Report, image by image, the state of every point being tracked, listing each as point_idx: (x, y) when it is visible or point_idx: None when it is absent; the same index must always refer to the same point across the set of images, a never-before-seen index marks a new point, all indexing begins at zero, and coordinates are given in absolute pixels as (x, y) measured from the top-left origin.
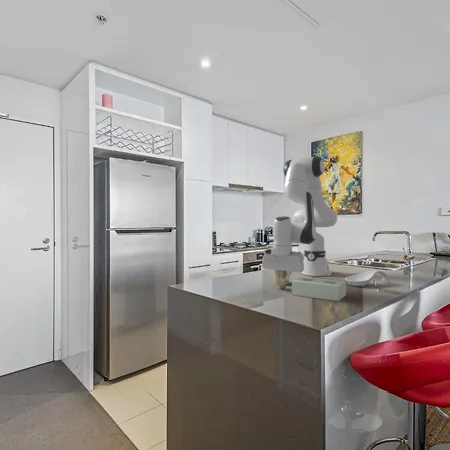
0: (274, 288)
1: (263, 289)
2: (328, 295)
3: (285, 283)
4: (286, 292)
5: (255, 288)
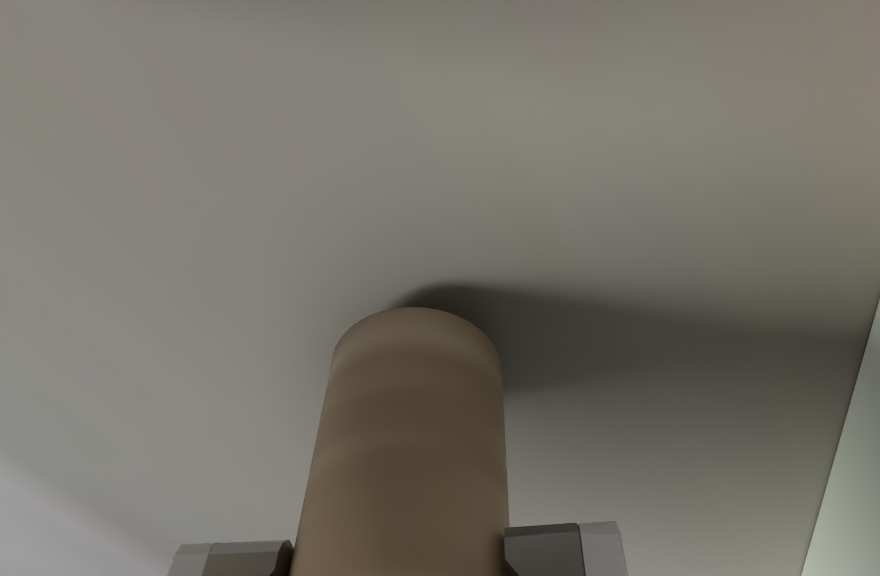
0: (252, 413)
1: (171, 555)
2: None
3: (506, 468)
4: (652, 521)
5: (16, 569)
